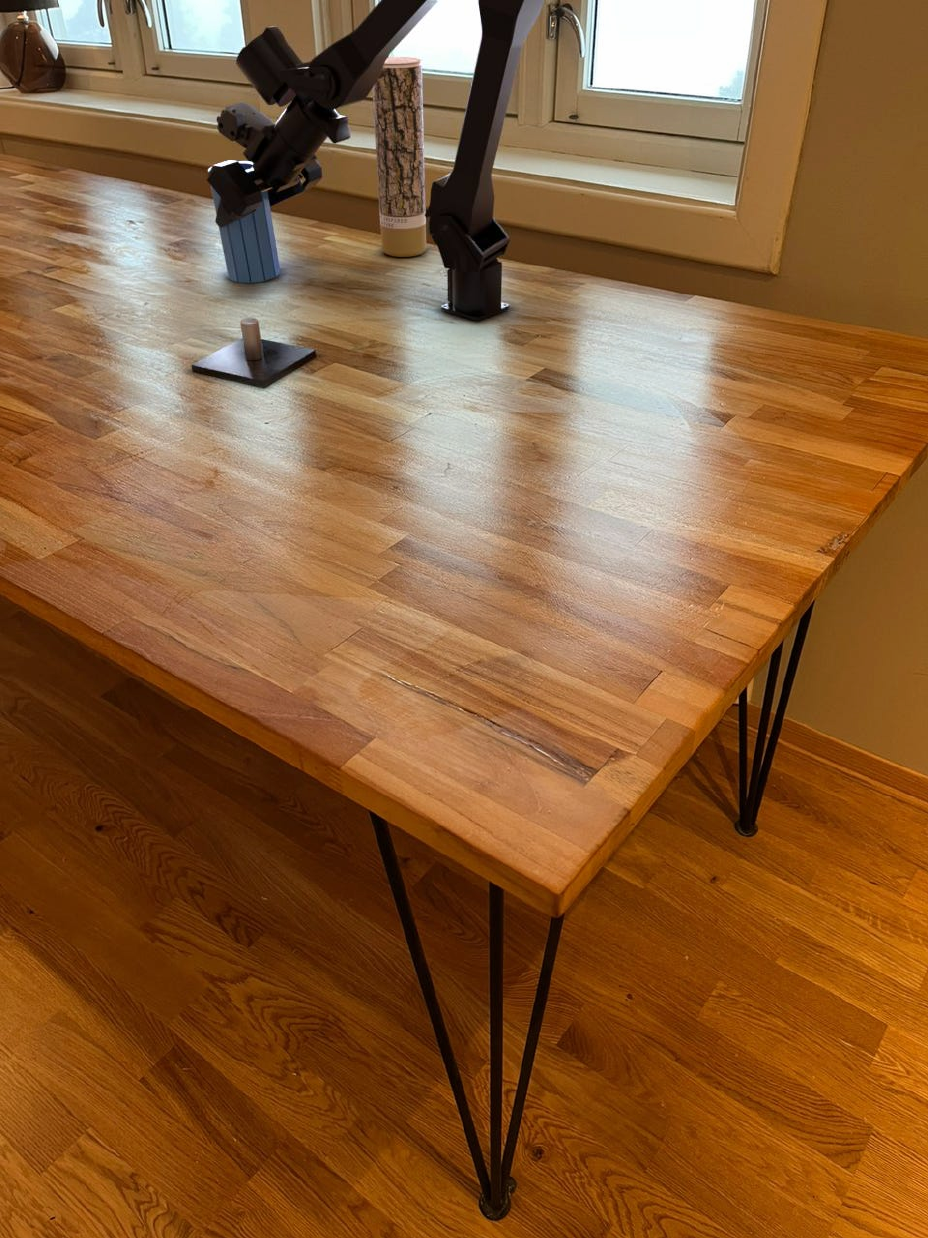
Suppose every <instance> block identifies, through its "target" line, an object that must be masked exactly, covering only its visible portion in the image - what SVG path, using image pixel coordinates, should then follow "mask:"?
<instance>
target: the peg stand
mask: <svg viewBox="0 0 928 1238" xmlns="http://www.w3.org/2000/svg"><path fill="white" fill-rule="evenodd" d="M259 322H260V321H259V319H257V318H254V317H246V318H243V319H241V320H240V321H239V323H240V331H241V338H240V339H238V340H236V341H234V342H232V343H230V344H228V345H227V346H224V347H223V348H221V349H219V350H217V351H215V352H213V353H211V354H210V355H208V356H205V357H204V358H202V359H200V360H198V361H196V362H194V363H193V364H191V365H190V366H191V371H192V372H193V373H197V374H201V375H206V376H210V377H215V378H219V379H223V380H228V381H231V382H232V381H233V382H237V383H241V384H245V385H250V386H254V387H260V388H263V389H265V388H267V387H269V386H270V385H271V384H274V383H275V382H277V381H279V380H280V379H282V378H283V377H285V376H286V375H289V374H291V372H293V371H295V370H297V369H299V368H300V367H302V366H303V365H304V364H307V363H308V362H310V361H312V360H313V359H315V358H316V357H317V350H316V349H314V348H313V349H312V348H308V347H303V346H298V345H293V344H289V343H284V342H279V341H273V340H268V339H262V337H261V329H260V323H259Z"/></svg>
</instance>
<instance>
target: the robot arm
mask: <svg viewBox="0 0 928 1238" xmlns="http://www.w3.org/2000/svg"><path fill="white" fill-rule="evenodd" d="M439 1H440V0H380V1H379V2H378V3H377V4H376V5H375V7H374V8H373V9H372V10H370V12H369V13H368V14H367V16H365V18H364V19H363V21H362V22H361V23H360V24H359V25H358V26H357V27H356V28H355V29H354V30H352V31H351V32H350V33H348V34H346V35H345V36H343V37H341V38H340V39H339V40H337V41H335V42H333V43H332V44H330V45H329V46H328V47H326V48H325V49H324V50H322V51H321V52H319V53H318V54H317V55H315V57H313V58H312V59H311V60H310V61H307V62H303V61H302V60H301V58H300V56H299V55H298V54H297V53H296V52H295V50H294V49H293V47H291V45H290V44H289V43H288V41H287V39H286V38H285V35H284V34H283V32H282V31H281V29H280V28H279V26H278V25H272V26H267V27H265V28H264V30H263V32H262V33H260V34H259V35H257V36H255V38H253V39H252V40H251V41H250V42H249V43H248V44H246V46H243V47H242V48H241V49H240V51H239V53H238V55H237V57H236V60H235V64H236V66H237V68H238V69H239V71H241V73H242V75H244V77H245V78H246V79H247V81H248V82H249V83H250V84H251V86H252V88H254V90H255V91H256V92H257V93H258V95H259V96H260V97H261V99H262V100H263V101H264V103H265V104H266V105H268V106H273V105H277V106H278V107H280V108H283V107H285V106H287V105H288V106H287V107H286V109H284V111H283V112H282V114H281V115H280V116H279V118H278V120H276V122H273V121H272V119H271V118H270V117H268V116H267V115H265V114H264V113H263V112H261V111H259V110H258V109H257V108H255V107H254V106H252V105H251V104H249V103H247V102H238V103H234V104H231V105H227V106H226V107H225V109H222V110H221V113H220V114H219V115H218V116H216V123H217V126H216V128H217V131H218V133H219V134H220V135H222V136H223V137H225V138H226V139H227V140H229V141H230V142H235V143H236V144H238V145H239V146H241V147H242V148H245V150H244V151H243V152H242V155H243V156H244V158H245V159H246V161H249V162H250V161H252V163H253V165H252V166H253V169H254V171H255V172H253V173H250V174H248V173H247V172H246V171H245V169H244V168H243V167H242V166H241V164H240V163H239V162H240V161H239V160H232V159H229V160H225V161H222V162H219V163H217V164H216V163H215V164H213V165H212V166H211V167H212V168H211V169H210V171H209V172H208V171H207V174H206V175H205V176H206V177H205V178H206V181H207V183H208V184H209V185H210V187H211V186H212V187H213V189H214V190H215V191H216V192H217V193H218V195H219V196H220V201H219V206H218V211H217V215H216V214H215V215H216V216H215V224H216V225H217V226H218V228H219V227H220V228H222V227H224V226H226V225H229V224H231V223H233V222H235V221H237V220H239V219H241V218H243V217H245V216H247V215H250V214H252V213H254V212H256V211H257V210H256V208H257V207H258V206H259V205H260V204H261V202H262V193H261V192H264V191H267V192H268V198H269V204H270V208H272V207H274V206H276V205H278V204H281V203H283V202H285V201H287V200H289V199H293V198H294V197H296V196H298V195H301V194H303V193H305V192H307V190H309V189H312V188H315V187H316V186H317V185H318V183H319V182H320V181H321V180H322V179H323V171H322V166H321V165H320V163H319V162H318V161H317V159H318V157H317V155H316V154H317V151H318V150H320V148H321V146H323V144H324V142H325V141H326V140H327V139H329V140H330V141H331V143H332V144H334V145H336V144H339V143H341V142H344V141H346V140H349V139H350V138H351V132H350V131H351V129H350V127H349V118H348V116H347V115H340V113H338V111H336V110H338V109H341V108H345V107H347V106H351V105H353V104H357V103H361V102H362V101H364V100H365V99H366V98H367V97H368V96H369V94H370V93H371V91H373V86H374V85H375V83H376V82H377V80H378V78H379V77H380V75H381V72H382V69H383V66H384V63H385V61H386V59H387V58H388V57H390V55H391V54H392V52H394V50H395V49H396V48H397V46H399V45H400V43H401V42H402V41H403V40H404V39H405V38H406V37H407V36H408V35H409V34H410V32H411V31H412V30H413V29H414V28H415V27H416V26H417V25H418V24H419V23H420V22H421V20H422V19H424V17H425V16H426V15H427V14H428V13H429V12H430V11H431V9H433V7H434V6H435V5H436V4H437V3H438V2H439ZM545 2H546V0H477V6H478V15H479V21H480V22H479V23H480V29H481V36H480V37H481V38H480V42H479V47H478V51H477V55H476V60H475V65H474V69H473V75H472V79H471V84H470V88H469V93H468V98H467V103H466V107H465V112H464V116H463V122H462V126H461V130H460V135H459V140H458V145H457V149H456V154H455V159H454V164H453V168H452V170H451V172H450V173H449V174H447V175H445V176H442V177H441V178H439V179H436V180H434V181H433V182H432V184H431V188H430V200H429V205H428V208H427V210H426V213H425V217H426V218H428V225H427V229H428V234H429V235H430V236H431V239H432V240H433V242H434V244H435V245H436V246H437V250H438V252H439V256H440V258H441V261H442V265H443V267H444V269H447V271H446V273H447V274H446V278H447V281H446V282H447V283H446V284H447V286H446V287H447V302H448V303H445V304H443V305H441V306H440V310H441V311H442V312H446V313H450V314H452V315H455V316H459V317H462V318H465V319H468V320H471V321H475V322H479V321H483V320H485V319H487V318H490V317H491V316H495V315H497V314H500V313H502V312H504V311H507V310H509V309H510V304H508V303H506V302H502V287H503V286H502V284H503V283H502V281H503V262H502V261H499V259H498V258H499V257H501V256H504V255H505V254H506V252H507V250H508V247H509V245H510V241H511V238H510V237H509V235H508V234H507V233H506V231H504V229H503V228H502V226H501V225H500V224H499V223H498V221H497V220H496V219H495V217H494V208H495V207H494V206H495V191H494V184H493V178H492V177H493V169H494V165H495V160H496V157H497V152H498V148H499V143H500V139H501V136H502V131H503V127H504V122H505V119H506V115H507V111H508V106H509V104H510V103H509V102H510V98H511V94H512V90H513V85H514V82H515V78H516V74H517V69H518V66H519V61H520V58H521V52H522V48H523V45H524V43H525V40H526V38H527V36H528V35H529V33H530V32H531V30H532V28H533V26H534V24H535V23H536V21H537V20H538V17H539V16H540V14H541V12H542V9H543V7H544V5H545ZM238 161H239V162H238ZM303 178H304V179H305V180H304V181H302V179H303Z"/></svg>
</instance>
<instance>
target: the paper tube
mask: <svg viewBox="0 0 928 1238" xmlns="http://www.w3.org/2000/svg"><path fill="white" fill-rule="evenodd" d="M372 100H373V103H372V104H373V119H374V121H373V122H374V137H375V152H376V153H375V156H376V172H377V173H376V174H377V175H376V177H377V191H378V192H377V194H378V210H379V211H378V212H379V225H380V228H379V229H380V242H381V243H380V244H381V245H380V246H381V250H382V252H383V253H384V254H386V255H388V256H391V257H396V258H406V257H407V258H410V257H416V256H419V255H422V254H423V253H424V252H425V251H426V249H427V217H425V213H426V212H427V210H426V209H427V208H426V179H425V177H426V176H425V175H426V173H425V171H426V170H425V139H424V101H423V63H422V59H421V58H416V57H406V56H405V57H404V56H393V57H391V56H388V58H387V59H386V61H385V63H384V66H383V69H382V72H381V75H380V77H379V78H378V80H377V82H376V83H375V85H374V86H373V88H372Z"/></svg>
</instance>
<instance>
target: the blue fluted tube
mask: <svg viewBox="0 0 928 1238" xmlns="http://www.w3.org/2000/svg"><path fill="white" fill-rule="evenodd" d="M237 161H238V162H239V163H240V164H241V166H242V167H243V168H244V169H245V171H246V172H247V173H248V174H250V173H253V172H255V171H254V169H253V166H252V165H253V163H252V161H250V162H249V161H248V160H240V161H239V160H237ZM211 168H212V166H210V167H209V168H207V173H208V172H209V171H210V169H211ZM210 189H211V190H210V191H211V196H212V200H213V205H214V210H215V215H217V211H218V206H219V201H220V196H219V195H218V193H217V192H216V191H215V190H214V189H213V187H212V186H211V185H210ZM261 193H262V202H261V204H260V205H259V206H258V207H257V208H256V210H257V211H256V212H254V213H252V214H250V215H247V216H245V217H243V218H241V219H239V220H237V221H235V222H233V223H231V224H229V225H226V226H224V227H222V228H220V227H219V226H218V231H219V237H220V241H221V245H222V251H223V256H224V262H225V266H226V267H225V268H226V272H227V276H228V279H229V280H230V281H231V282H235V283H239V284H241V283H242V284H243V283H244V284H251V283H252V284H253V283H255V284H256V283H261V282H266V281H269V280H272V279H274V278H277V277H278V276H279V275H280V274H281V267H280V260H279V254H278V249H277V242H276V235H275V229H274V224H273V223H274V222H273V217H272V211H271V207H270V204H269V198H268V192H267V191H264V192H261Z"/></svg>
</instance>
